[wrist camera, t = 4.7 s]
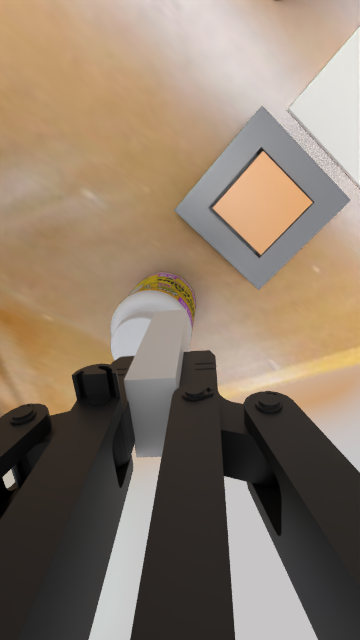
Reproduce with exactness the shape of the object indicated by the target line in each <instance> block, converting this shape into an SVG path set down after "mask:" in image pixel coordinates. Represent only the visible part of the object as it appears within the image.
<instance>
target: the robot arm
mask: <svg viewBox="0 0 360 640" xmlns="http://www.w3.org/2000/svg"><path fill="white" fill-rule="evenodd" d="M72 379H73V383H74V388H75V392H76V397H77V401H76V403H75V404H74V406H73V407H72V409H71V410H70V411H68V412H64V413H60V414H56V415H51V416H50V415H49V411H48V408H47V407H46V406H45V405H42V404H27V405H26V404H25V405H22V406H20V407H18V408H15V409H13V410H11V411H10V412H8V413H6V414H5V415H4V416H2V417H1V418H0V640H88V639H89V635H90V631H91V628H92V624H93V620H94V616H95V612H96V609H97V605H98V601H99V597H100V593H101V590H102V586H103V582H104V578H105V575H106V571H107V567H108V563H109V559H110V555H111V552H112V548H113V544H114V540H115V536H116V533H117V529H118V525H119V521H120V517H121V514H122V510H123V506H124V502H125V499H126V495H127V491H128V487H129V483H130V480H131V475H132V472H133V460H132V455H131V453H132V450H133V447H134V444H135V450H136V456H137V457H162V458H161V464H160V470H159V475H158V481H157V487H156V493H155V499H154V505H153V510H152V517H151V522H150V529H149V534H148V540H147V545H146V551H145V557H144V563H143V569H142V575H141V581H140V586H139V593H138V599H137V604H136V610H135V615H134V622H133V627H132V634H131V639H130V640H235V632H234V618H233V603H232V589H231V574H230V560H229V545H228V530H227V516H226V501H225V487H224V476H226V477H231V478H234V479H239V480H243V481H246V482H247V485H248V489H249V491H250V494H251V496H252V498H253V500H254V502H255V504H256V507H257V509H258V511H259V513H260V515H261V517H262V520H263V522H264V524H265V526H266V528H267V530H268V532H269V535H270V537H271V539H272V541H273V543H274V545H275V547H276V550H277V552H278V554H279V556H280V558H281V560H282V563H283V565H284V567H285V569H286V571H287V573H288V576H289V578H290V580H291V582H292V584H293V586H294V588H295V591H296V593H297V595H298V597H299V599H300V601H301V603H302V606H303V608H304V610H305V612H306V614H307V616H308V619H309V621H310V623H311V625H312V627H313V629H314V632H315V634H316V636H317V638H318V640H360V473H359V472H358V470H357V469H356V468H355V467H354V466H353V465H352V464H351V463H350V462H349V461H348V460H347V459H346V457H345V456H344V455H343V454H342V453H341V452H340V451H339V450H338V449H337V448H336V447H335V445H334V444H332V442H331V441H330V440H329V439H328V438H327V437H326V436H325V435H324V433H323V432H322V431H321V430H320V429H319V428H318V427H317V426H316V425H315V424H314V423H313V422H312V421H311V419H310V418H309V417H308V416H307V415H306V414H305V413H304V412H303V411H302V410H301V408H300V407H299V406H298V405H297V404H296V403H295V402H294V401H293V400H292V399H291V398H289V397H288V396H286V395H283V394H281V393H278V392H271V391H265V392H258V393H254V394H251V395H250V396H249V397H247V398H246V399H245V402H244V404H240V403H235V402H231V401H229V400H226V399H225V398H223V397H222V396H221V395H220V394H219V392H218V388H217V374H216V361H215V355H214V354H213V353H212V352H211V351H209V350H207V351H191V350H190V340H189V329H188V318H187V309H183V310H169V311H155V313H154V315H153V317H152V320H151V322H150V324H149V326H148V328H147V331H146V333H145V335H144V337H143V339H142V342H141V344H140V346H139V348H138V350H137V352H136V355H135V356H122V357H119V358H118V359H116V360H115V361H114V362H112V363H111V365H109V364H96V365H90V366H87V367H84V368H82V369H80V370H78V371H76V372H75V373H74V374H73V375H72ZM10 469H12V473H13V476H14V479H15V483H14V484H13V485H12V486H11V487H9V488H8V489H7V488H6V487H5V484H4V481H3V478H2V477H3V476H4V475H5V474H6V473H7V472H8V471H9V470H10Z"/></svg>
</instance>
